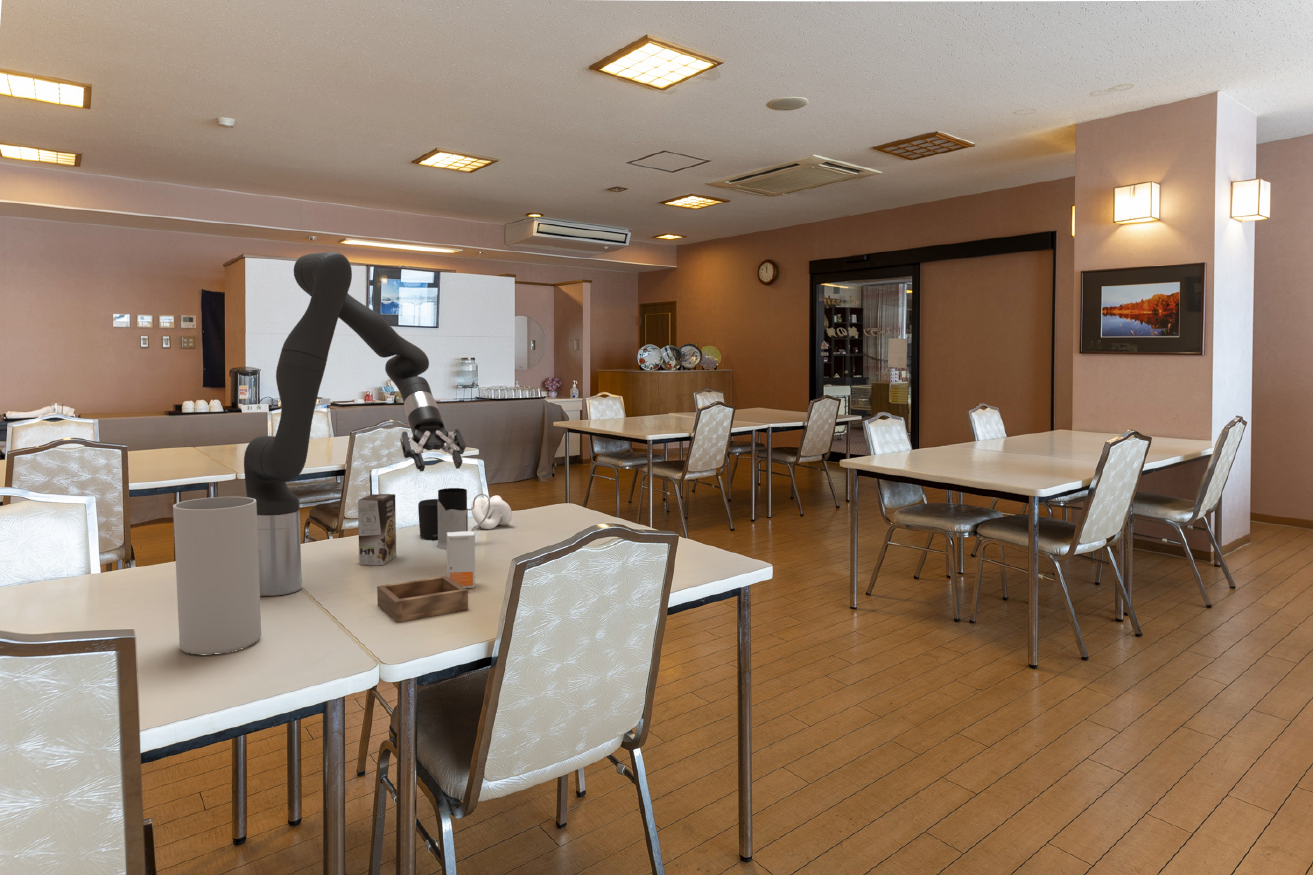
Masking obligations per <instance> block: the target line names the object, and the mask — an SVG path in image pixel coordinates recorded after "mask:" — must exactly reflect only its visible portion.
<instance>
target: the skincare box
mask: <svg viewBox="0 0 1313 875" xmlns="http://www.w3.org/2000/svg"><path fill="white" fill-rule="evenodd" d="M475 552H476V533H475V530H474V531H470V530H468V531H461V532H447V549H446V576H447V577H449V578H450V579H452V580H453V581H455V582H456V583H458V584H459V585H461V586H463V587H464V588H466V589H474V588H475V584H476V580H475V578H476V574H475V572H476V568H475V567H476V565H475V564H476V560H475V559H476V553H475Z"/></svg>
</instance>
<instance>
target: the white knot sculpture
mask: <svg viewBox="0 0 1313 875" xmlns="http://www.w3.org/2000/svg"><path fill="white" fill-rule="evenodd" d="M489 499H490V509H489V513H488V515H487V517H486V519H485V521H484V522H483V523H482V524H481V525H480V526H479V527H481V528H482V529H484V530H487V529H488V530H492V528H493V529H495V528H496V527H497V526H499V525H504V526H507V525H509V523H511V521H512V518H513V511H512V509H511V506H510V505H509V504H508V502H506V501H505V500H503V498H502V497H501V496H500V495H498V494H497V495H493V496H491V497H489ZM488 505H489V501H488V499H486V498H485V497H480V496H478V497H477V498H476V500H475V506H474V509H473V510H470V511H471V515H472V517H473V519H474V522H476V523H477V525H478V524H479V523H480V522H481V521H482V520H483V519H484V517H485V516H486V513H487V511H488ZM471 508H473V502H472V503H471ZM471 508H470V509H471ZM506 524H507V525H506Z"/></svg>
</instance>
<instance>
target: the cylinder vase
mask: <svg viewBox="0 0 1313 875" xmlns="http://www.w3.org/2000/svg"><path fill="white" fill-rule="evenodd" d="M172 507H173V508H172V509H173V510H172V512H173V516H172V517H173V530H174V531H173V532H174V533H173V535H174V536H173V537H174V552H175V553H174V555H175V574H176V575H175V576H176V597H177V598H176V599H177V600H176V601H177V615H178V616H177V618H178V637H179V638H178V639H179V648H180V650H182V651H183V652H184V653H186V654H189V653H191V654H190V655H193V654H215V653H225V654H228V653H227V652H230V653H233V652H232V651H234V652H236V651H235V650H238V651H240V650H239V649H241V648H244V649H246V648H245V647H247V646H249V647H251V646H253V645H254V644H256V643H257V642H258V641H259V640H260V638H261V636H262V620H261V619H262V618H261V596H260V587H259V560H258V533H257V506H256V499H253V498H248V497H247V496H246V497H245V496H215V497H213V496H212V497H203V498H196V499H190V500H189V499H188V500H183V501H179V502H178V503H175V504H173V505H172ZM255 642H256V643H255ZM252 644H253V645H252ZM250 645H251V646H250ZM247 648H248V647H247ZM241 650H242V649H241Z"/></svg>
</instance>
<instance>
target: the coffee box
mask: <svg viewBox="0 0 1313 875" xmlns="http://www.w3.org/2000/svg"><path fill="white" fill-rule="evenodd" d="M396 512H397V511H396V493H395V494H394V493H392V494H390V493H379V494H375V493H374V494H370V495H367V496H364V497H362V498H360V499H358V500H357V515H358V516H357V517H358V518H357V519H358V521H357V522H358V523H357V524H358V532H357V533H358V565H360V566H361V565H362V566H364V565H365V566H367V565H369V566H385V564H387V563H389V562H390V561H392V560H393V559H394V558H396V557H397V523H396V522H397V519H396V518H397V517H396V514H397V513H396Z"/></svg>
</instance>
